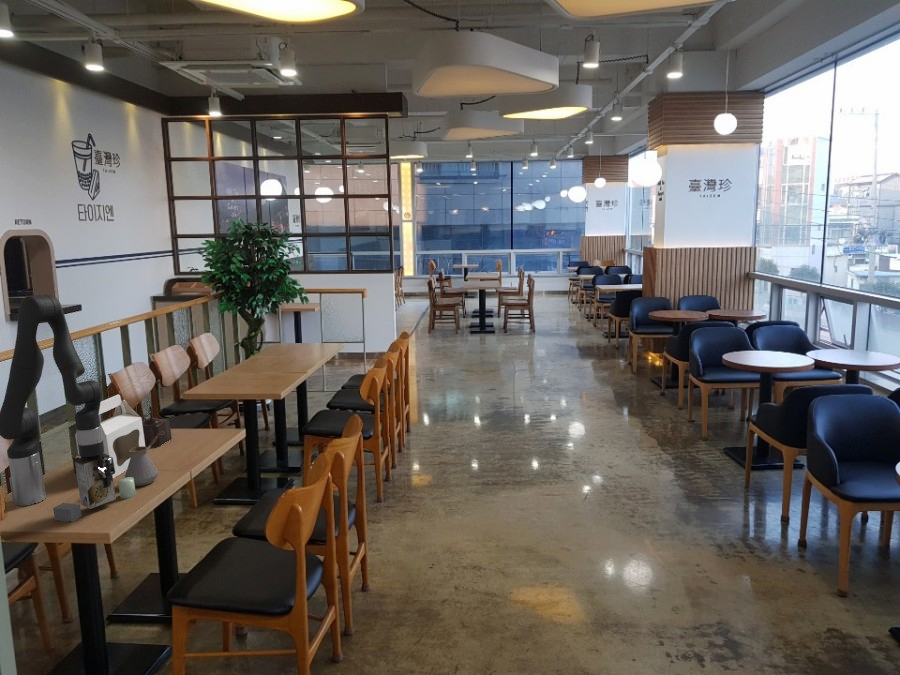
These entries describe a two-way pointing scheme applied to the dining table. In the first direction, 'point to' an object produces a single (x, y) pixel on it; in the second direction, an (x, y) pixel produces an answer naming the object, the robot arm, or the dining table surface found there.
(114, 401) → the gable box
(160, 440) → the manual coffee grinder
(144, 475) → the coffee pot
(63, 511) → the charcoal block
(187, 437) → the dining table surface
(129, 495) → the sage cylinder
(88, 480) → the coffee box
